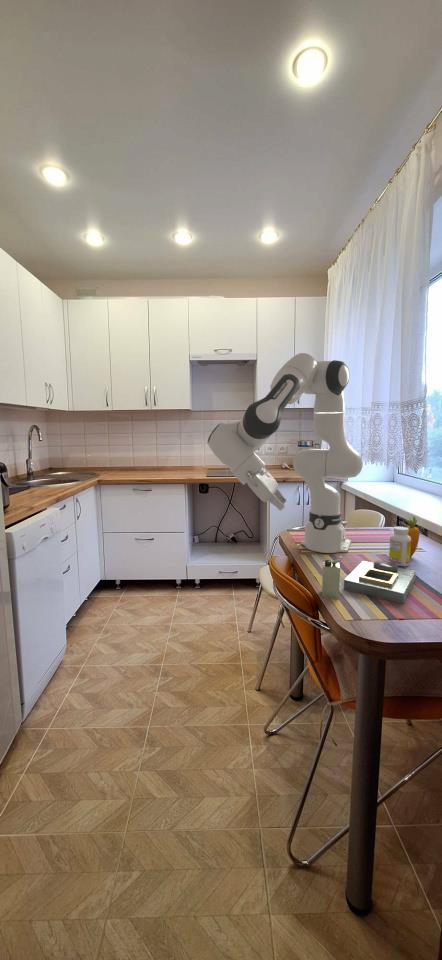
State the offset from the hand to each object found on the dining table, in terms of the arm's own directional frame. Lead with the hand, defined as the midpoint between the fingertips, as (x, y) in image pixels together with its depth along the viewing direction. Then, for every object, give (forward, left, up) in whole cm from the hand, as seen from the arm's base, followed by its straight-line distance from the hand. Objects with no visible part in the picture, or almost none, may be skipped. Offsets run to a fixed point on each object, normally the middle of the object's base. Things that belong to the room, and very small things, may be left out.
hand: (283, 505), depth 109 cm
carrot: (-53, +26, -25) cm, 64 cm away
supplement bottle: (-43, +24, -25) cm, 55 cm away
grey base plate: (-21, +23, -25) cm, 40 cm away
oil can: (-4, +13, -25) cm, 29 cm away
